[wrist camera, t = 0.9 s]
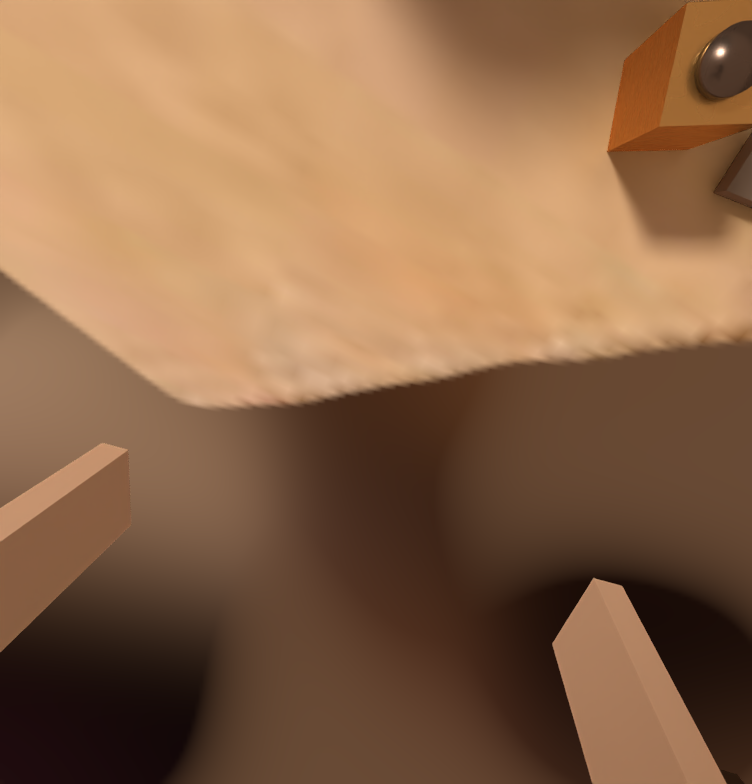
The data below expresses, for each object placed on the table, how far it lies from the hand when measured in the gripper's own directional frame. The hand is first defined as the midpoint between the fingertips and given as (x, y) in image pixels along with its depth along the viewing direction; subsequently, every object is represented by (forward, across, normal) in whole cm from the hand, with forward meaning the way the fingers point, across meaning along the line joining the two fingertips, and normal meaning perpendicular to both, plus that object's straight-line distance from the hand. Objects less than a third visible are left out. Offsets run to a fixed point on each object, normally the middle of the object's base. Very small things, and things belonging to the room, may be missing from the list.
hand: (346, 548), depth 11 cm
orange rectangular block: (+23, +12, +18) cm, 32 cm away
